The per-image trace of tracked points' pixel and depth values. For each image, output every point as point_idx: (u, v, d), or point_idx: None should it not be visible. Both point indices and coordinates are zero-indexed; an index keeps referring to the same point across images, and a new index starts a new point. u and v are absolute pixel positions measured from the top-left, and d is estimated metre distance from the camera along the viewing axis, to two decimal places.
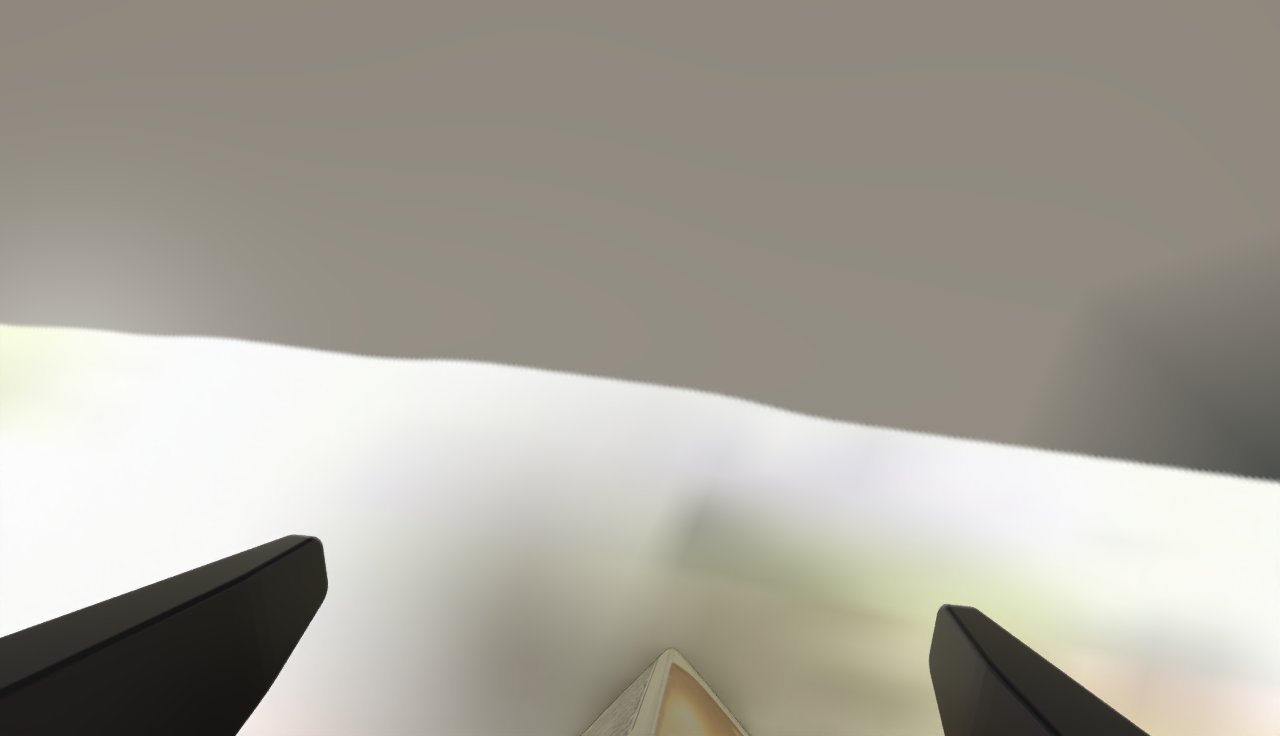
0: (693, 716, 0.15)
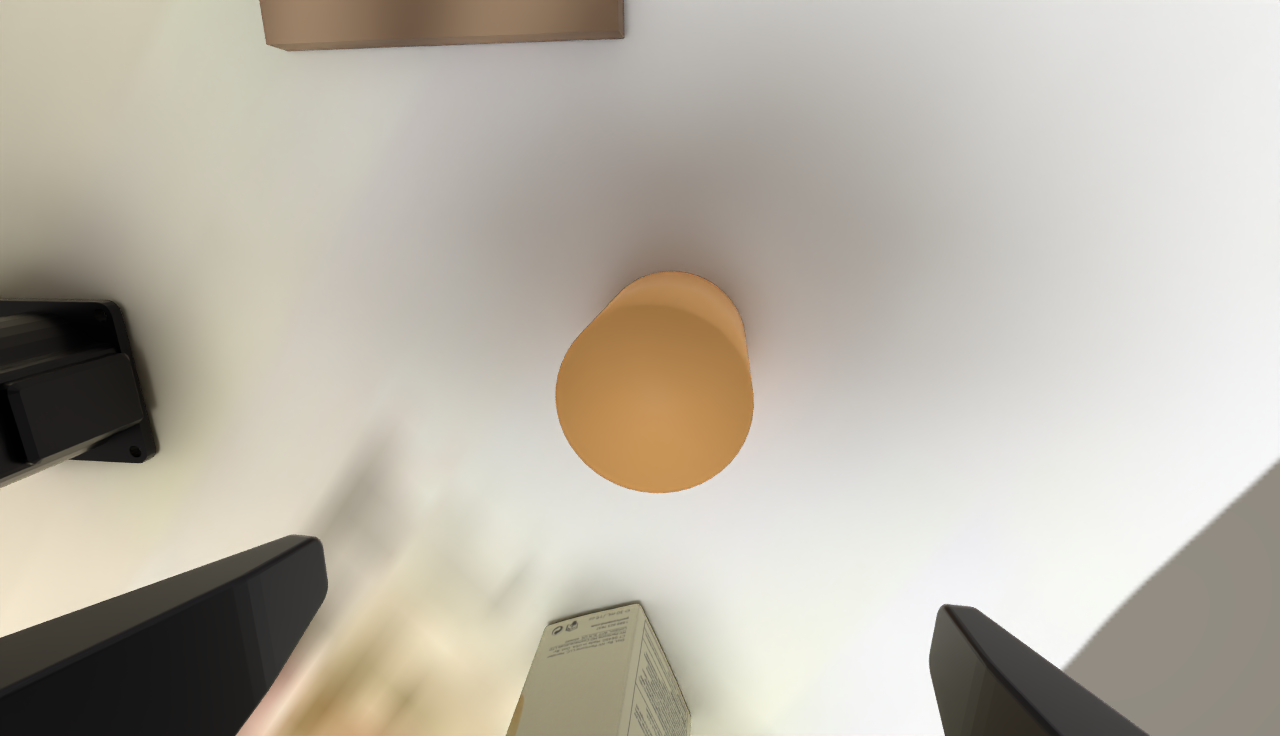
0: None
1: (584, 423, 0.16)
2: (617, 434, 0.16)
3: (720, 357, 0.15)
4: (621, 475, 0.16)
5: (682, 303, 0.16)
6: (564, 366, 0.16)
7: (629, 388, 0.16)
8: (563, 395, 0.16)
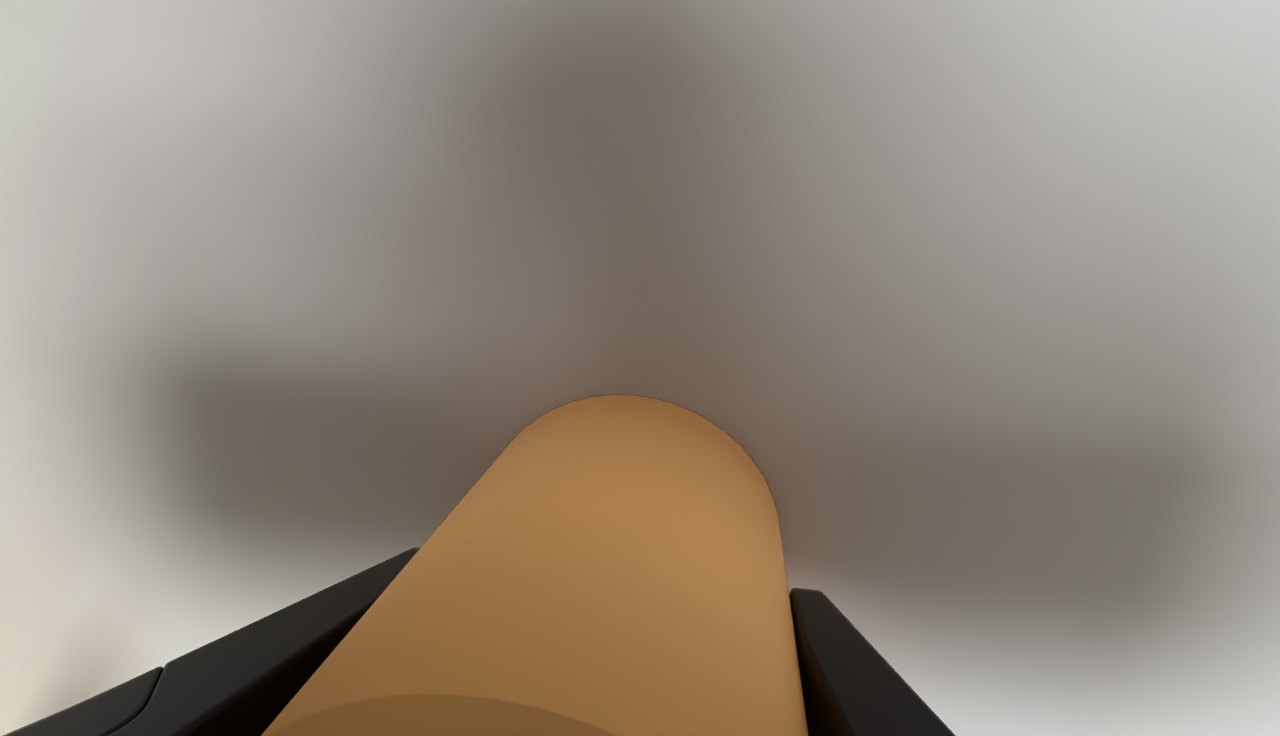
0: None
1: None
2: None
3: None
4: None
5: (611, 638, 0.05)
6: None
7: None
8: None
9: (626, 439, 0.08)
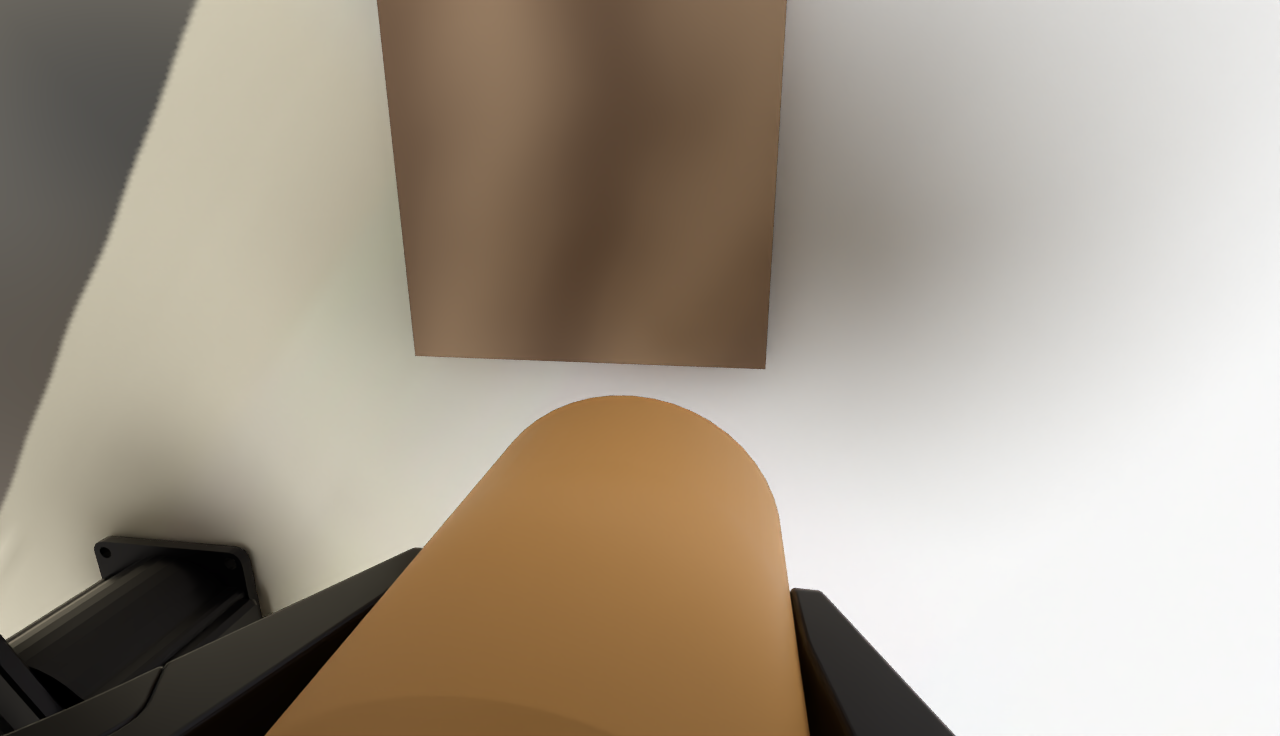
0: None
1: None
2: None
3: None
4: None
5: (614, 640, 0.05)
6: None
7: None
8: None
9: (627, 440, 0.08)
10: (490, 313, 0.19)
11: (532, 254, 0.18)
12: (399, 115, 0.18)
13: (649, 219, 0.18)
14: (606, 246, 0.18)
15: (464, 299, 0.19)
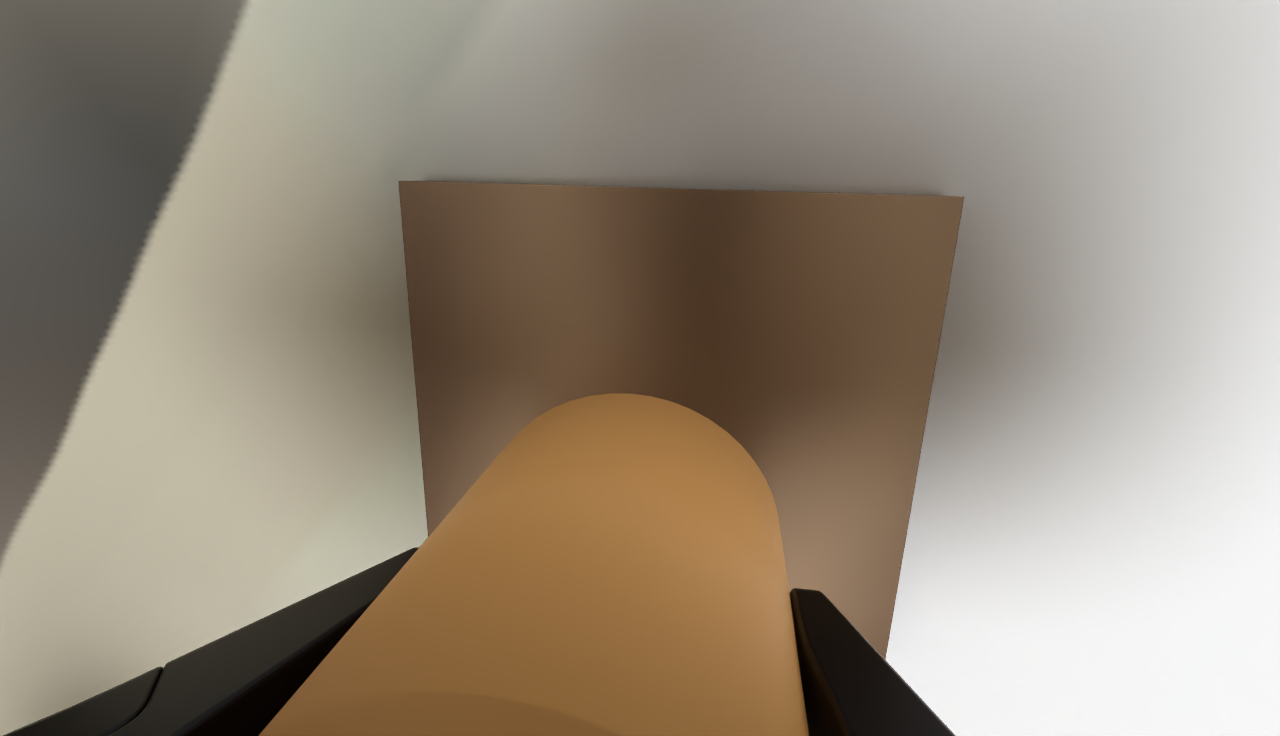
0: None
1: None
2: None
3: None
4: None
5: (611, 636, 0.05)
6: None
7: None
8: None
9: (626, 438, 0.08)
10: None
11: None
12: (426, 361, 0.14)
13: None
14: None
15: None
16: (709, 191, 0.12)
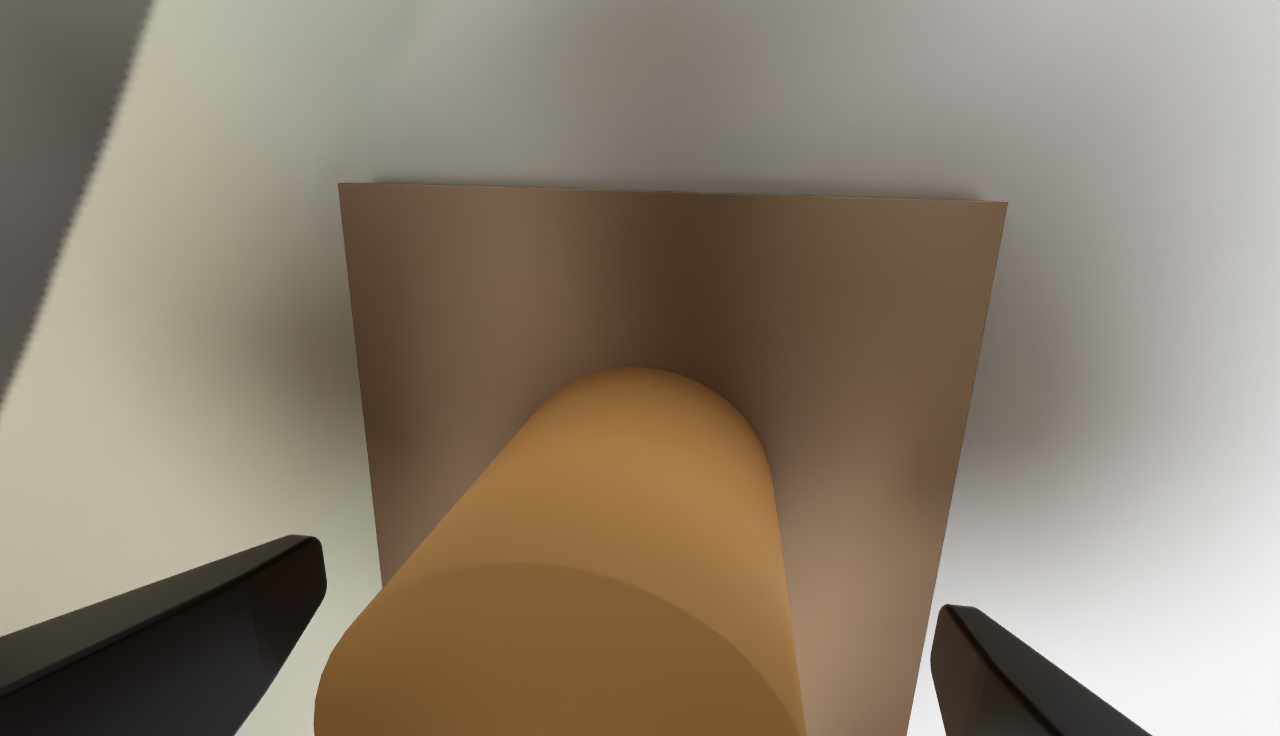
0: None
1: None
2: None
3: (730, 706, 0.06)
4: None
5: (636, 533, 0.06)
6: (329, 682, 0.06)
7: None
8: None
9: (640, 400, 0.09)
10: None
11: None
12: (375, 392, 0.12)
13: None
14: None
15: None
16: (702, 195, 0.10)
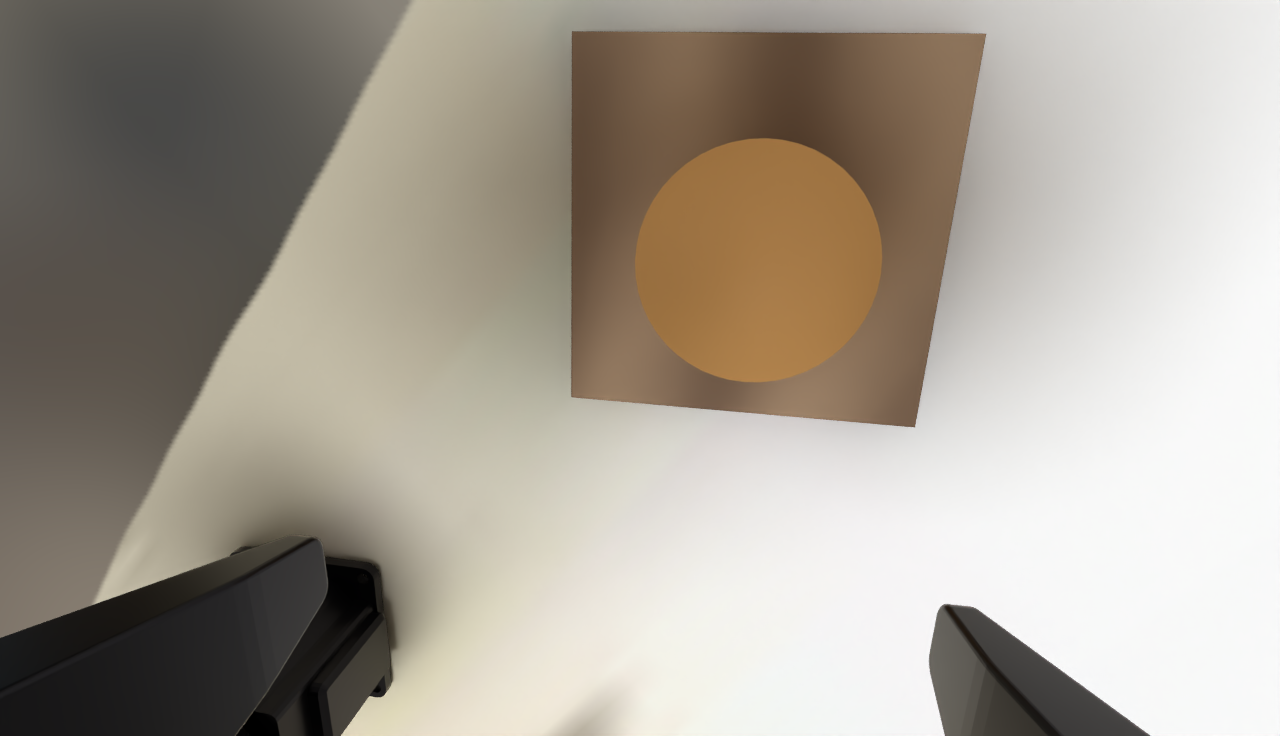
0: None
1: (668, 292, 0.13)
2: (707, 306, 0.13)
3: (845, 208, 0.12)
4: (708, 359, 0.14)
5: None
6: (649, 217, 0.13)
7: (728, 247, 0.13)
8: (645, 255, 0.13)
9: None
10: (650, 362, 0.20)
11: None
12: (581, 174, 0.19)
13: None
14: None
15: (625, 347, 0.20)
16: (802, 34, 0.17)
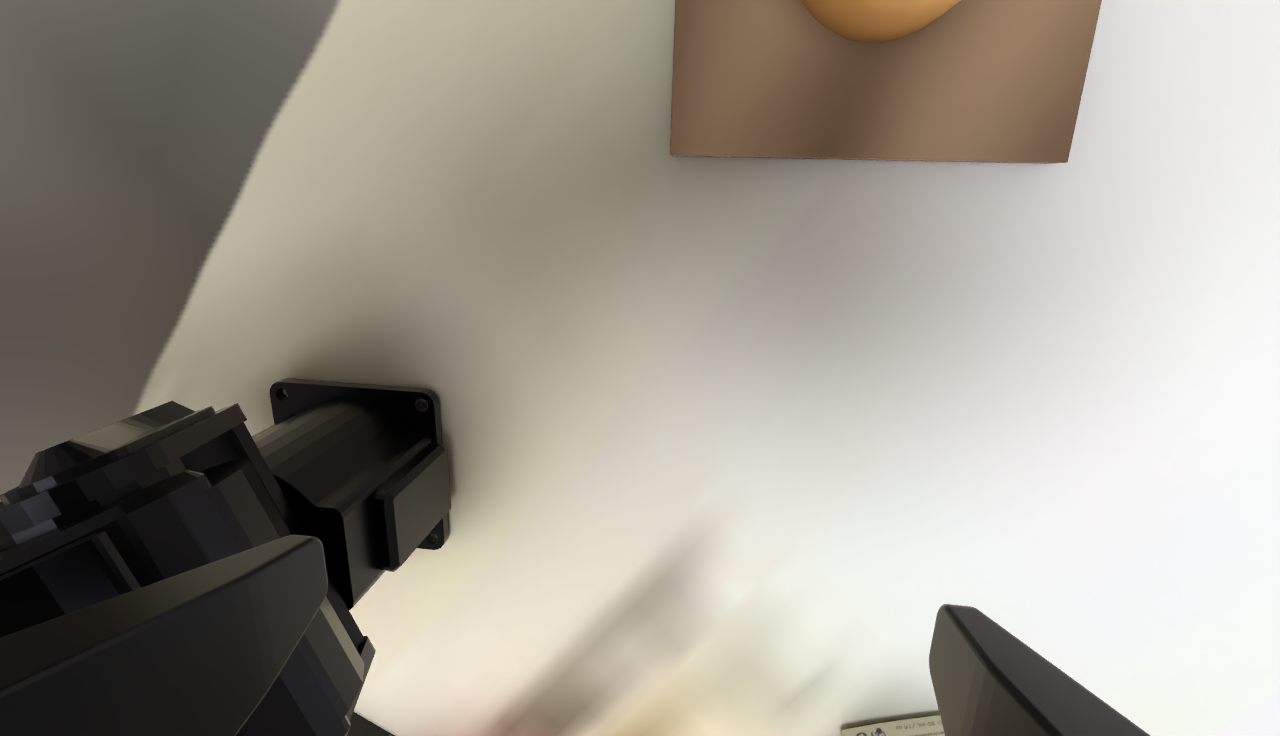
0: None
1: None
2: None
3: None
4: None
5: None
6: None
7: None
8: None
9: None
10: (763, 103, 0.18)
11: (820, 32, 0.17)
12: None
13: None
14: None
15: (735, 86, 0.18)
16: None
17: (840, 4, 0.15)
